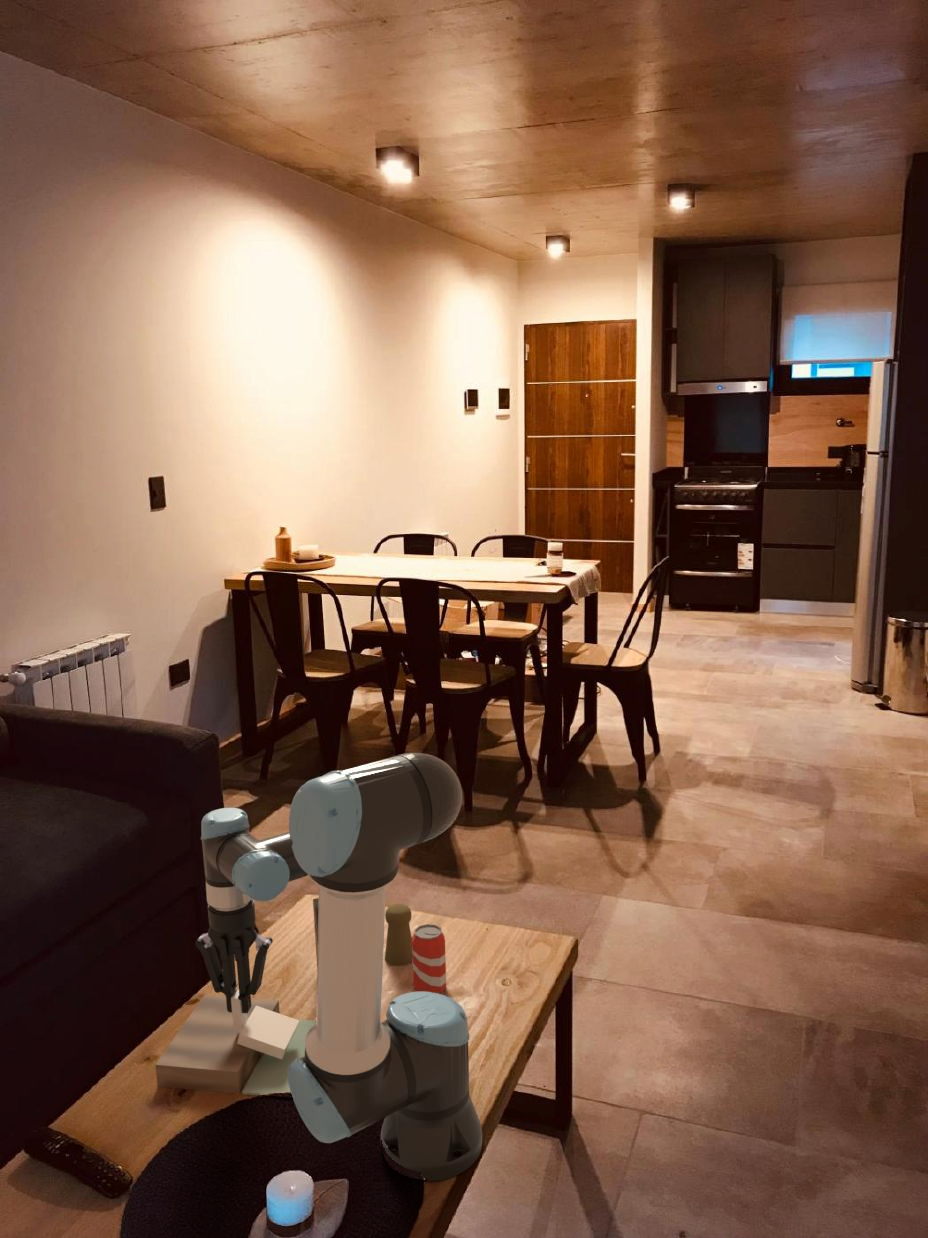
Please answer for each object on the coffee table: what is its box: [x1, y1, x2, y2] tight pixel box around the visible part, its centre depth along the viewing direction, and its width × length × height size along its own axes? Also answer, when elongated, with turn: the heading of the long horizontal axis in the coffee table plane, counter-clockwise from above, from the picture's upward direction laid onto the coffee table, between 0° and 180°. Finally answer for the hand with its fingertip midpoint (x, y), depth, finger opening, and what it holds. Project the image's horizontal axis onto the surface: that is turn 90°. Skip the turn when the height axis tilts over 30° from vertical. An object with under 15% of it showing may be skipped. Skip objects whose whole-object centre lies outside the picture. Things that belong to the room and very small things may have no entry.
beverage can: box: [411, 923, 447, 994], centre depth 191 cm, size 6×6×12 cm
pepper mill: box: [384, 903, 413, 967], centre depth 202 cm, size 6×6×11 cm
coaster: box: [237, 1006, 299, 1059], centre depth 173 cm, size 8×8×2 cm
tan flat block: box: [155, 994, 281, 1094], centre depth 175 cm, size 20×14×4 cm
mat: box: [241, 1018, 317, 1096], centre depth 173 cm, size 20×15×1 cm
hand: (240, 1028), depth 174 cm, fingers closed
